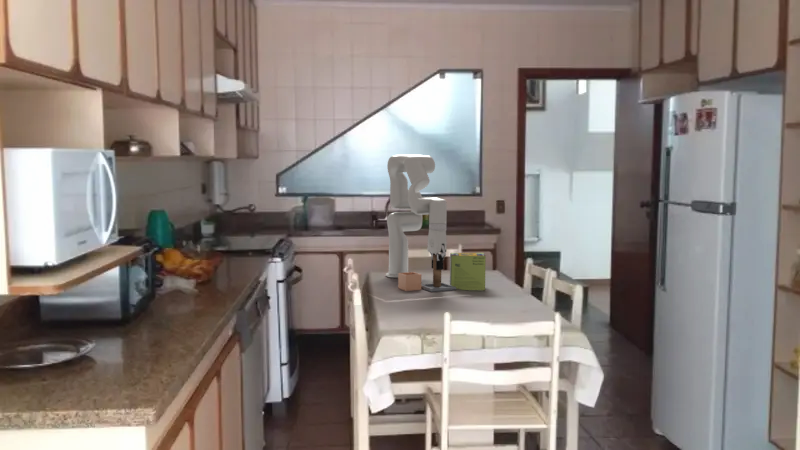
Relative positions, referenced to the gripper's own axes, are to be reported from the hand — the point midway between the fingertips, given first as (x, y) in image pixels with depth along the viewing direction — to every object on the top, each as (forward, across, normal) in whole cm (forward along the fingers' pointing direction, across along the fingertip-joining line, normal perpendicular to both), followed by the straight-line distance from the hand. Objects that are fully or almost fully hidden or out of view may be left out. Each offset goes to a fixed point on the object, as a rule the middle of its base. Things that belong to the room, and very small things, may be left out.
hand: (437, 268), depth 319 cm
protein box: (+10, 0, +15) cm, 18 cm away
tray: (+10, 0, 0) cm, 10 cm away
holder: (+10, -5, -11) cm, 15 cm away
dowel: (+8, 0, 0) cm, 8 cm away
